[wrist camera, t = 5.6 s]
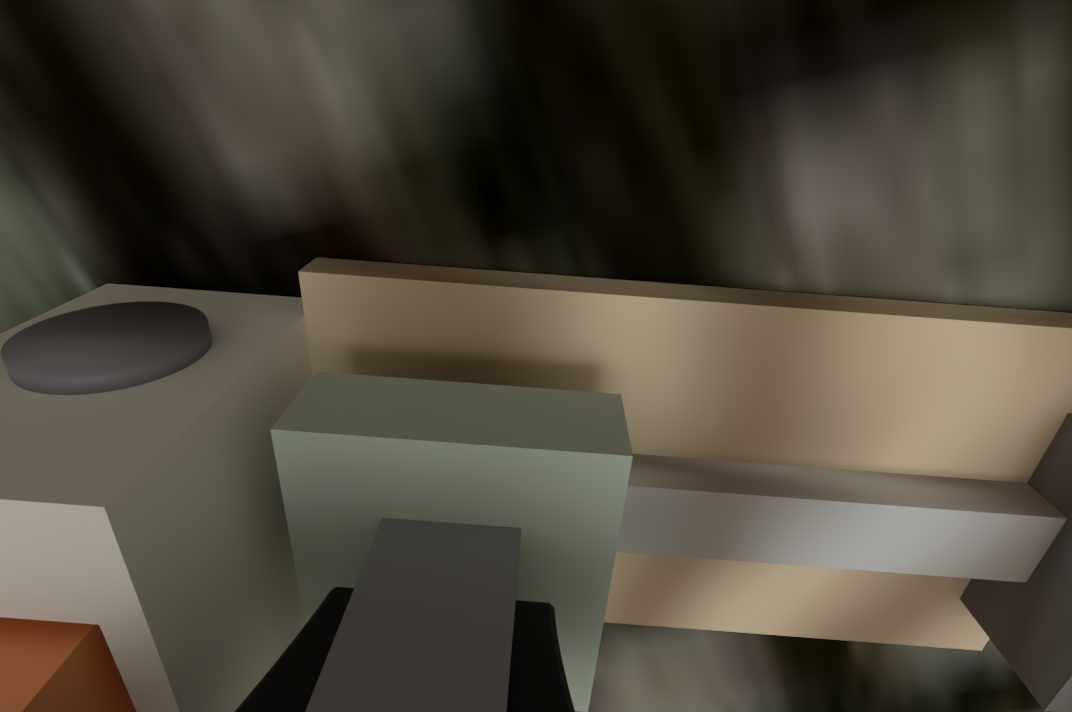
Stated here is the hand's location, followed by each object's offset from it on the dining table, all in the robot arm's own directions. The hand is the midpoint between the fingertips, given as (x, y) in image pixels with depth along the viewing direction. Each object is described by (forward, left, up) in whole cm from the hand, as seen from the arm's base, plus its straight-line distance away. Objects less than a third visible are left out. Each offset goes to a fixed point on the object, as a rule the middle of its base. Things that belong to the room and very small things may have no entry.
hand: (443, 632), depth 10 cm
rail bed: (+5, 0, -5) cm, 8 cm away
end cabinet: (-6, 0, -5) cm, 8 cm away
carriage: (0, 0, -4) cm, 4 cm away
